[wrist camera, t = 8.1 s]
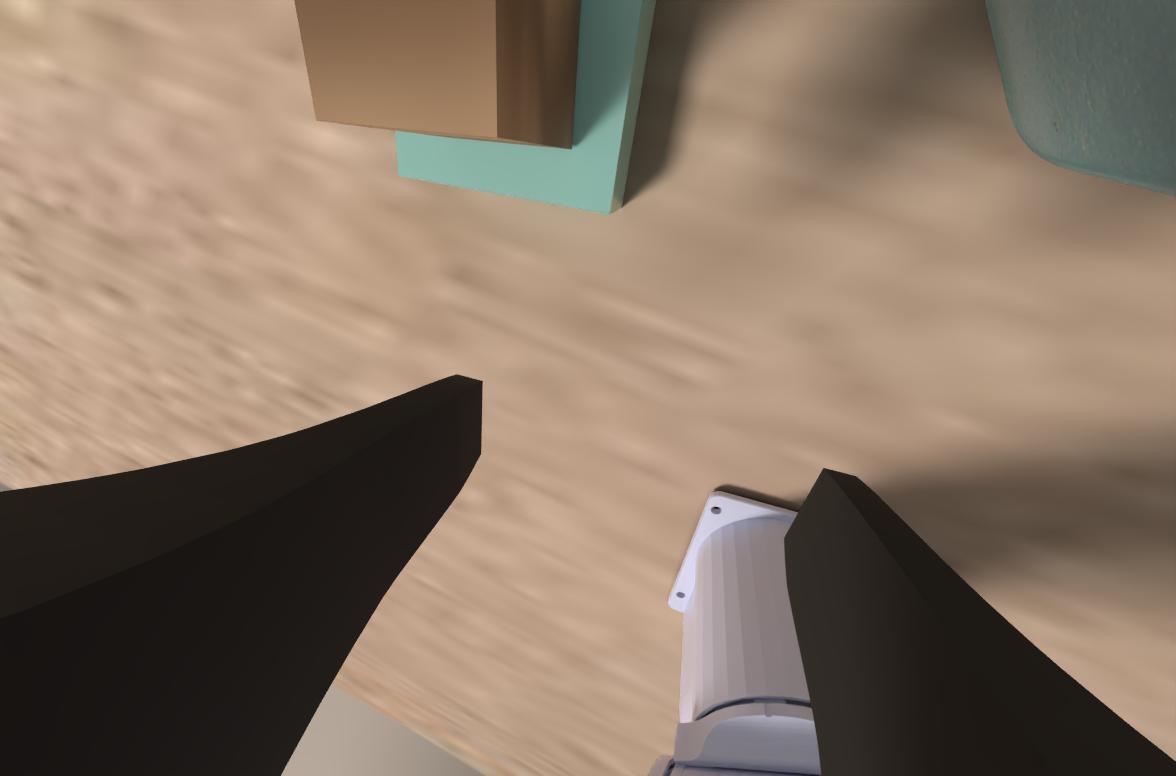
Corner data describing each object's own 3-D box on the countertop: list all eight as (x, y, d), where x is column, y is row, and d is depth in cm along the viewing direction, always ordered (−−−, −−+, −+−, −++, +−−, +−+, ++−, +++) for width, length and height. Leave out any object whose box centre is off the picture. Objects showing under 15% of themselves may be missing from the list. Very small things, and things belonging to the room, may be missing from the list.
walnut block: (571, 149, 14) (497, 137, 9) (446, 137, 14) (316, 120, 10) (583, -40, 12) (493, -188, 7) (435, -42, 12) (262, -174, 8)
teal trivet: (623, 206, 17) (609, 214, 14) (441, 173, 18) (398, 175, 16) (670, -72, 13) (662, -129, 10) (433, -92, 14) (373, -148, 12)
